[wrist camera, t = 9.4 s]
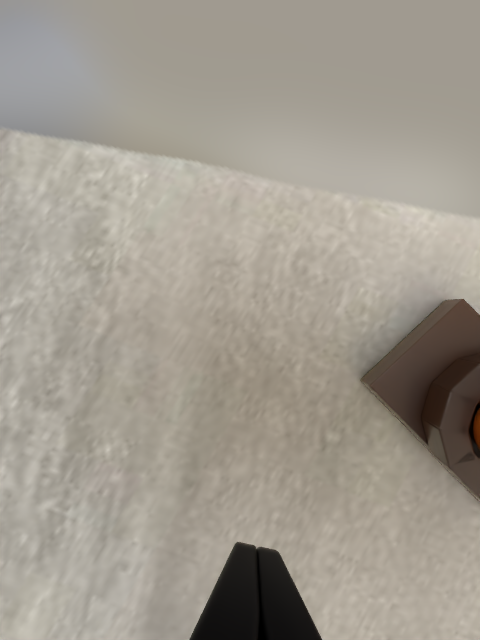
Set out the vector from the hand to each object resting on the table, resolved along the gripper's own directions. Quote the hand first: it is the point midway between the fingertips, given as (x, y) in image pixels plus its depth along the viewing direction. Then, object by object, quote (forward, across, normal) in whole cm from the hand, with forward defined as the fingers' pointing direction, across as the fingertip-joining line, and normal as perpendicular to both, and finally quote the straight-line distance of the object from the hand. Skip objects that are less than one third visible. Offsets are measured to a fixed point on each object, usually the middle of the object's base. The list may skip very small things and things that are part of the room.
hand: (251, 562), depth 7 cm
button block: (+12, -12, 0) cm, 16 cm away
